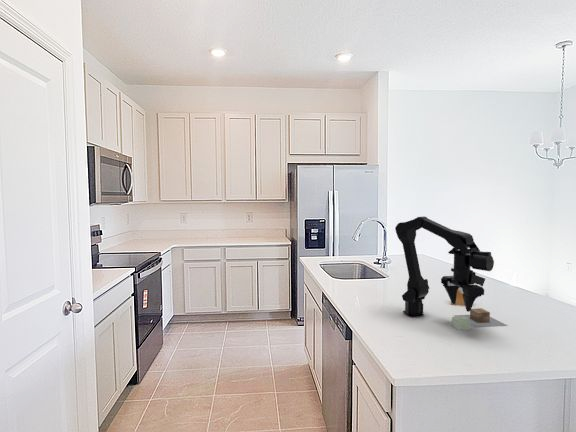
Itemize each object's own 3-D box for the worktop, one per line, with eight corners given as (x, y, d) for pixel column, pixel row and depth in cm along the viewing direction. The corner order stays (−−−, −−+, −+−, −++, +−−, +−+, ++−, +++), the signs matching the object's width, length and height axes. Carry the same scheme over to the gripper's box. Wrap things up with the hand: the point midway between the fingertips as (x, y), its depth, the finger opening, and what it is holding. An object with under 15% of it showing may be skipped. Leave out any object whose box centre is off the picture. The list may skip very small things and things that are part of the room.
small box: (450, 304, 170) (451, 276, 169) (452, 301, 175) (452, 274, 174) (470, 307, 166) (470, 278, 165) (471, 303, 171) (471, 275, 170)
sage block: (458, 331, 138) (458, 320, 137) (451, 327, 142) (451, 316, 142) (469, 330, 138) (470, 320, 138) (462, 326, 143) (462, 316, 142)
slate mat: (474, 328, 140) (474, 327, 140) (453, 316, 154) (453, 315, 154) (508, 326, 142) (508, 325, 142) (484, 314, 156) (484, 313, 156)
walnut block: (477, 322, 145) (478, 312, 145) (469, 318, 150) (470, 308, 150) (489, 322, 146) (489, 312, 145) (481, 317, 150) (481, 308, 150)
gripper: (498, 271, 131) (497, 314, 132) (466, 261, 149) (465, 299, 150) (469, 272, 129) (468, 316, 130) (440, 262, 148) (439, 300, 149)
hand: (460, 307), depth 140 cm, fingers open, 9 cm apart
